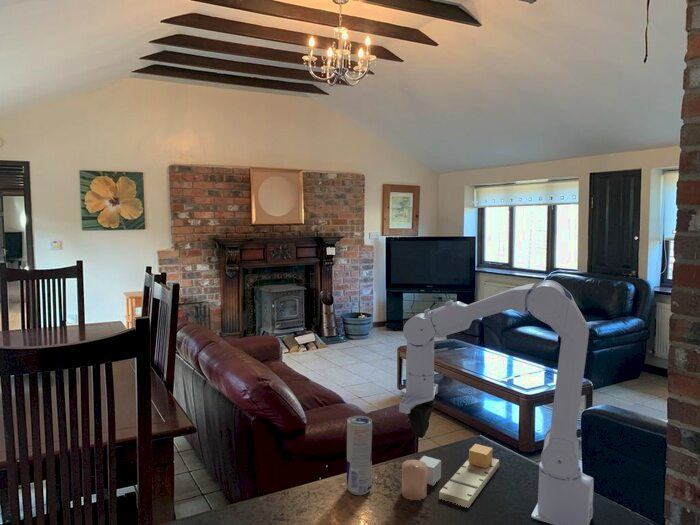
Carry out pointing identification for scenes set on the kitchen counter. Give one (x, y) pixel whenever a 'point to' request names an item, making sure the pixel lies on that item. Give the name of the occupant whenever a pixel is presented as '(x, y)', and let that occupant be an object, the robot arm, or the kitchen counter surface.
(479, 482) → the counting board
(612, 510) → the kitchen counter surface
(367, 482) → the beverage can
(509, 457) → the kitchen counter surface
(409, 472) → the tan rounded cylinder
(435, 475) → the grey block
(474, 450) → the tan square block
